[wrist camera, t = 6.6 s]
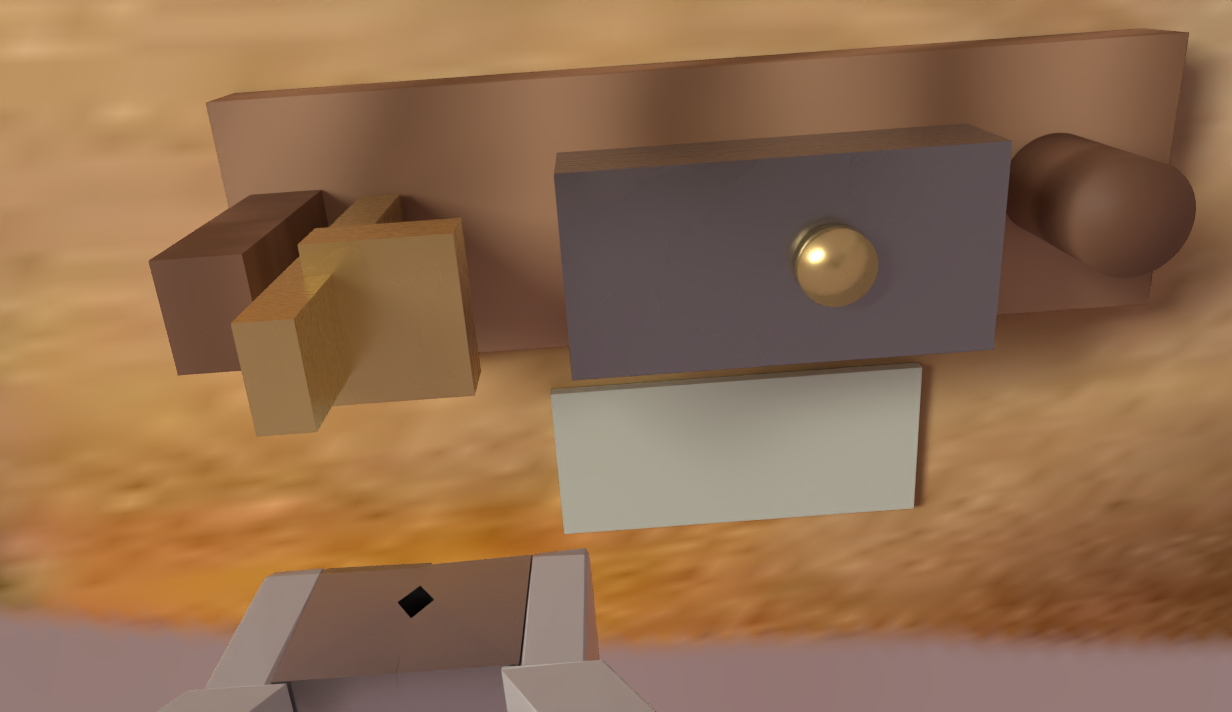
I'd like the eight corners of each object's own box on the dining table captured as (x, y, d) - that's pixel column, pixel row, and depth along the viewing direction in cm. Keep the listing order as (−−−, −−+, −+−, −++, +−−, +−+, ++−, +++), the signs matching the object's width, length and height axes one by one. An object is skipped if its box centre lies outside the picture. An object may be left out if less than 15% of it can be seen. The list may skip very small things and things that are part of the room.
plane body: (1144, 28, 25) (1382, 49, 17) (1109, 281, 28) (1304, 394, 20) (234, 93, 25) (84, 143, 17) (286, 342, 27) (175, 477, 20)
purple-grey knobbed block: (966, 123, 21) (1023, 144, 18) (952, 312, 22) (1003, 358, 20) (556, 152, 21) (552, 178, 18) (573, 339, 22) (571, 389, 20)
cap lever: (489, 162, 23) (433, 272, 15) (503, 285, 25) (459, 453, 16) (356, 172, 23) (222, 287, 15) (376, 295, 25) (264, 468, 16)
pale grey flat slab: (917, 362, 28) (922, 367, 28) (909, 501, 30) (913, 508, 30) (551, 389, 28) (550, 394, 28) (564, 527, 30) (564, 533, 30)
